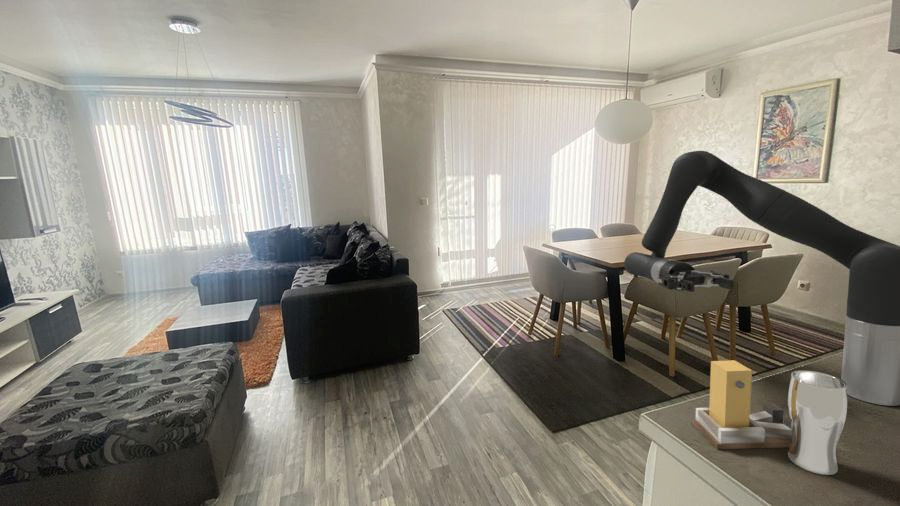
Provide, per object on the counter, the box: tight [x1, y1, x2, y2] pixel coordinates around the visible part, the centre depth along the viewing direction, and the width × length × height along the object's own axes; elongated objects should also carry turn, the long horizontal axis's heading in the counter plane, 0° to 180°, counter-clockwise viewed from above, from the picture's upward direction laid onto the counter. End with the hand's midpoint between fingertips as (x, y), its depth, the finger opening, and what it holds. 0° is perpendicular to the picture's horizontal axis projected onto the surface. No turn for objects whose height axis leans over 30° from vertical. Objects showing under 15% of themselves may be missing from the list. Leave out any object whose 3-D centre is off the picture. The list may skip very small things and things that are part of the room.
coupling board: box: [691, 402, 792, 450], centre depth 71 cm, size 16×8×4 cm, turn 88°
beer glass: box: [787, 369, 848, 476], centre depth 62 cm, size 7×7×15 cm
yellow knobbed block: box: [708, 359, 753, 428], centre depth 71 cm, size 4×6×13 cm
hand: (712, 286), depth 84 cm, fingers open, 8 cm apart
